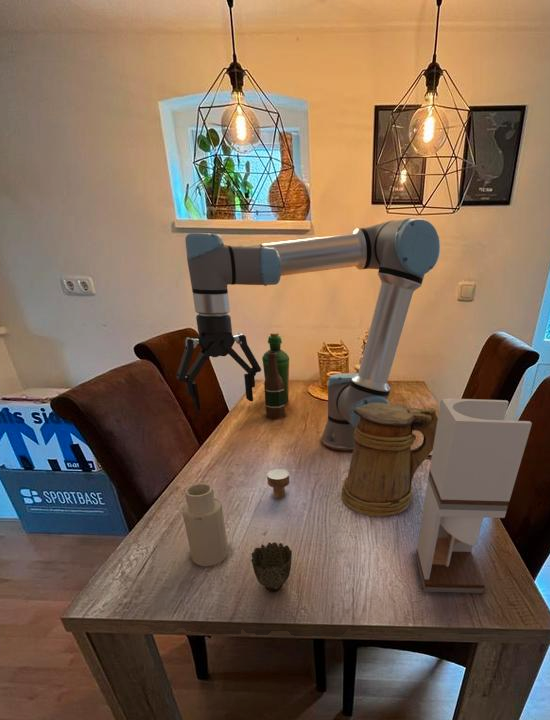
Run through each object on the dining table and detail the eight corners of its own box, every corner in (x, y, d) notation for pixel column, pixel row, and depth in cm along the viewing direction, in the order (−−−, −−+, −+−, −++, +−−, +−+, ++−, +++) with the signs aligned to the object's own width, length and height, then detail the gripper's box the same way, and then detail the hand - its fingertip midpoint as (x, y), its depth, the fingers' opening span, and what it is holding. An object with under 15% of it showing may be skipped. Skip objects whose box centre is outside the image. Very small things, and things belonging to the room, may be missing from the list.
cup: (256, 573, 79) (253, 541, 75) (293, 572, 80) (292, 540, 76) (252, 601, 73) (248, 569, 68) (292, 600, 73) (291, 567, 69)
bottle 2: (295, 400, 170) (292, 332, 156) (283, 408, 162) (280, 336, 147) (273, 397, 173) (268, 330, 159) (260, 404, 164) (255, 334, 150)
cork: (290, 489, 107) (289, 468, 104) (289, 501, 102) (288, 479, 99) (269, 490, 106) (267, 468, 103) (267, 501, 102) (266, 479, 98)
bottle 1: (231, 542, 87) (221, 479, 79) (225, 565, 81) (214, 499, 72) (196, 543, 86) (184, 480, 78) (188, 566, 80) (173, 500, 72)
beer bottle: (281, 420, 151) (278, 355, 138) (262, 417, 152) (257, 353, 140) (288, 413, 157) (285, 351, 145) (269, 411, 158) (265, 349, 146)
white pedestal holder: (424, 591, 76) (456, 420, 59) (415, 555, 85) (441, 398, 68) (482, 592, 77) (532, 423, 59) (468, 556, 86) (506, 400, 68)
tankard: (337, 482, 111) (339, 396, 99) (417, 479, 114) (430, 395, 102) (346, 519, 96) (350, 423, 83) (438, 515, 99) (456, 421, 86)
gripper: (257, 309, 98) (263, 392, 109) (150, 314, 86) (169, 407, 96) (270, 313, 93) (275, 400, 104) (158, 319, 81) (177, 417, 91)
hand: (224, 404), depth 100 cm, fingers open, 13 cm apart
